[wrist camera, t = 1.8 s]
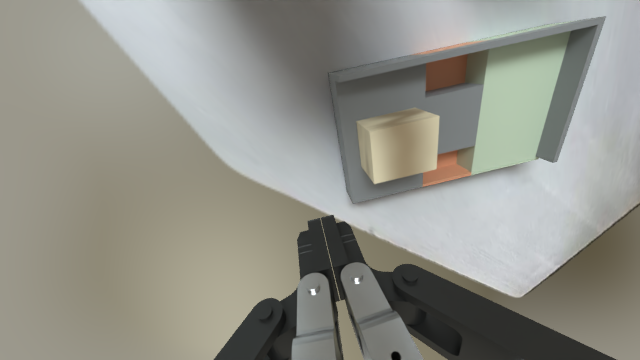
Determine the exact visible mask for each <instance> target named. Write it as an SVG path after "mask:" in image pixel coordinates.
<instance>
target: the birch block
mask: <svg viewBox="0 0 640 360" xmlns="http://www.w3.org/2000/svg"><path fill="white" fill-rule="evenodd" d="M439 118H440V116H438V115H435V114H432V113H430V112H427V111H424V110H421V109H418V108H411V109H407V110H403V111H398V112H394V113H390V114H385V115H381V116H376V117H372V118H368V119H363V120H359V121H356V123H357V132H358V141H359V149H360V158H361V167H362V168H363V169H364V171H365V172H366V173H367V175H368V176H369V178H370V179H371V180H372V182H373V183H374V184H377V183H381V182H385V181H389V180H394V179H398V178H402V177H406V176H410V175H415V174H419V173H423V172H427V171H431V170H435V169H436V168H437V151H438V135H439Z"/></svg>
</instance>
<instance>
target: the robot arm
mask: <svg viewBox="0 0 640 360" xmlns="http://www.w3.org/2000/svg"><path fill="white" fill-rule="evenodd" d="M321 220H322V224H323V228H324V233H325V237H326V241H327V245H328V249H329V254H330V258H331V262H332V266H333V270H334V274H335V278H336V282H337V286H338V290H339V295H340V299H341V300H344V299H345V301H346V305H347V309H348V314H349V317H350V320H351V323H352V326H353V329H354V332H355V335H356V338H357V341H358V344H359V347H360V350H361V353H362V355H363V358H364V360H423V358H422V356H421V354H420V352H419V350H418V348H417V346H416V345H415V343H414V341H413V339H412V337H411V335H413V336H414V337H416V338H418V339H419V340H420V341H422V342H423V343H425V344H426V345H427V346H429V347H430V348H432V349H433V350H435V351H436V352H438V353H439V354H441V355H442V356H444V357H445V358H447V359H448V360H616V359H614V358H612V357H610V356H607V355H605V354H603V353H601V352H599V351H597V350H595V349H593V348H591V347H588V346H586V345H584V344H582V343H580V342H578V341H576V340H573V339H571V338H569V337H567V336H565V335H563V334H561V333H558V332H556V331H554V330H552V329H550V328H548V327H546V326H543V325H541V324H539V323H537V322H535V321H533V320H531V319H529V318H526V317H524V316H522V315H520V314H518V313H516V312H513V311H512V310H509V309H507V308H505V307H503V306H501V305H499V304H497V303H494V302H492V301H490V300H488V299H486V298H484V297H482V296H480V295H477V294H475V293H473V292H471V291H469V290H467V289H465V288H463V287H460V286H458V285H456V284H454V283H452V282H450V281H448V280H445V279H443V278H441V277H439V276H437V275H435V274H433V273H431V272H428V271H426V270H424V269H422V268H420V267H418V266H415V265H412V264H402V265H400V266H398V267H396V268H395V269H394V271H393V272H381V271H377V270H374V269H372V268H370V267H369V266H368V265H367V264H366V262H365V260H364V258H363V256H362V253H361V251H360V248H359V246H358V243H357V241H356V238H355V236H354V234H353V231H352V229H351V227H350V225H348V224H347V223H346V222H345V221H344V222H340V223H336V221H335V218H334V215H330V216H326V217H322V218H321ZM308 227H309V230H307V231H303V232H301V233H300V234H299V237H298V239H297V241H298V253H299V266H300V282H299V284H298V287H297V289H296V290H295V291H294V293H292V294H291V295H290V296H288V297H286V298H285V299H283V300H281V301H280V302H279V301H278V300H277V299H274V298H268V299H265V300H263V301H261V302H259V303H258V304H257V305H256V306H255V307H254V308H253V309H252V311H251V312H250V313H249V314H248V316H247V317H246V318H245V320H244V321H243V322H242V324H241V325H240V326H239V327H238V329H237V330H236V331H235V333H234V334H233V335H232V337H231V338H230V339H229V341H228V342H227V343H226V344H225V346H224V347H223V348H222V350H221V351H220V352H219V353H218V355H217V356H216V358H215V359H214V360H344V358H343V351H342V344H341V336H340V329H339V322H338V311H337V306H336V302H337V301H339V296H338V292H337V288H336V284H335V279H334V275H333V271H332V267H331V263H330V259H329V255H328V250H327V246H326V242H325V237H324V233H323V229H322V226H321V221H320V218H318V219H314V220H310V221H308ZM409 333H410V334H411V335H410V334H409Z"/></svg>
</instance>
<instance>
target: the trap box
mask: <svg viewBox="0 0 640 360" xmlns="http://www.w3.org/2000/svg"><path fill="white" fill-rule="evenodd" d="M605 18H606V16H604V17H598V18H591V19H584V20H577V21H570V22H563V23H556V24H549V25H543V26H539V27H534V28H530V29H525V30H521V31H516V32H512V33H507V34H503V35H498V36H494V37H489V38H485V39H480V40H476V41H471V42H467V43H462V44H458V45H453V46H449V47H444V48H440V49H435V50H431V51H426V52H422V53H417V54H413V55H408V56H404V57H399V58H395V59H390V60H386V61H381V62H377V63H372V64H368V65H363V66H359V67H354V68H350V69H345V70H341V71H336V72H332V73H328V75H329V81H330V88H331V94H332V100H333V107H334V113H335V119H336V126H337V132H338V138H339V145H340V151H341V157H342V163H343V170H344V176H345V182H346V189H347V192H348V194H349V196H350V199H351V201H352V203H353V204H354V203H359V202H363V201H367V200H371V199H375V198H379V197H383V196H387V195H392V194H396V193H400V192H404V191H408V190H412V189H416V188H421V187H425V186H429V185H433V184H437V183H441V182H445V181H450V180H454V179H458V178H462V177H466V176H470V175H474V174H479V173H483V172H487V171H491V170H495V169H499V168H503V167H507V166H512V165H516V164H520V163H524V162H528V161H532V160H536V159H538V158H542V159H544V160H547V161H550V162H552V163H554V162H557V160H558V157H559V154H560V151H561V148H562V145H563V143H564V140H565V137H566V134H567V131H568V128H569V125H570V122H571V119H572V116H573V113H574V110H575V107H576V104H577V101H578V98H579V95H580V92H581V89H582V86H583V83H584V80H585V77H586V74H587V71H588V68H589V65H590V62H591V59H592V56H593V54H594V51H595V48H596V45H597V42H598V39H599V36H600V33H601V30H602V27H603V24H604V21H605ZM411 108H418V109H421V110H424V111H427V112H430V113H432V114H435V115H438V116H440V118H439V135H438V151H437V168H436V169H435V170H431V171H427V172H423V173H419V174H415V175H410V176H406V177H402V178H398V179H394V180H389V181H385V182H381V183H377V184H374V183H373V182H372V180H371V179H370V178H369V176H368V175H367V173H366V172H365V171H364V169H363V168H362V167H361V158H360V149H359V141H358V132H357V123H356V121H359V120H363V119H368V118H372V117H376V116H381V115H385V114H390V113H394V112H398V111H403V110H407V109H411Z"/></svg>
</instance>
